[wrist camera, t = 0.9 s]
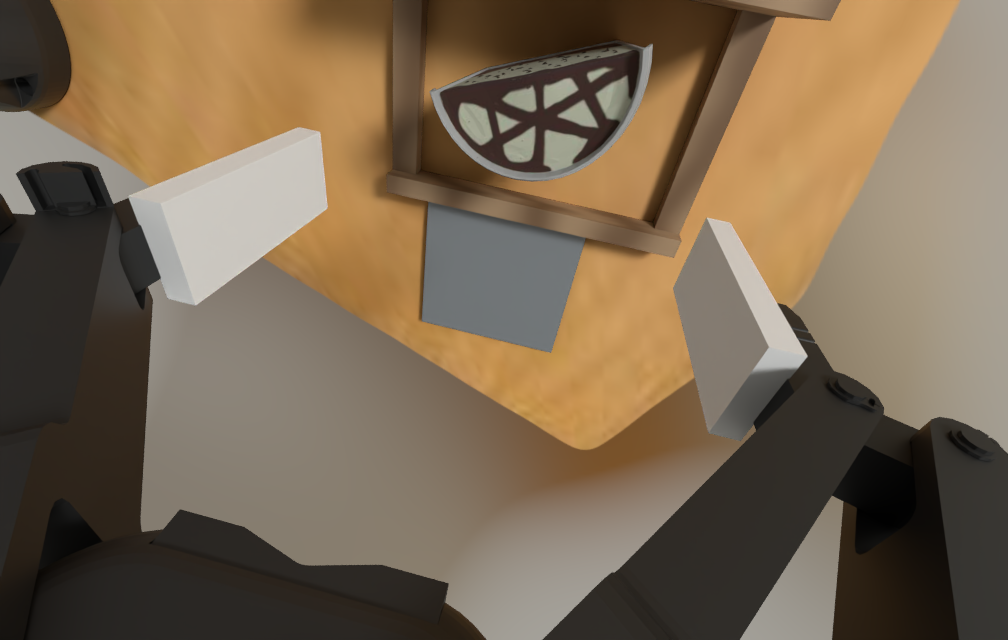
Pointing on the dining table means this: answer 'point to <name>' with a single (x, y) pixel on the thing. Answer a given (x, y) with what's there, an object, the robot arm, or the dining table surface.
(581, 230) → the wooden frame
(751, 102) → the dining table surface
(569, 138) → the food container
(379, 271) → the dining table surface
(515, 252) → the mat
